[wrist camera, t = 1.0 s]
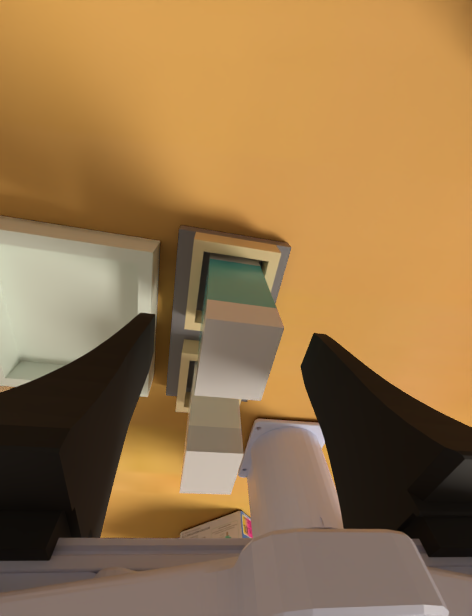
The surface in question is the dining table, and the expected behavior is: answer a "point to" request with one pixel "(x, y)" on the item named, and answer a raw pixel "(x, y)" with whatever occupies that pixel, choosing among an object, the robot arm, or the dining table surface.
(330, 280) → the dining table surface
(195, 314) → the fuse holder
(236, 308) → the block
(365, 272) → the dining table surface
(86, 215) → the dining table surface
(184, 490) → the block
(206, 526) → the ink cartridge box
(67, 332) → the tray
